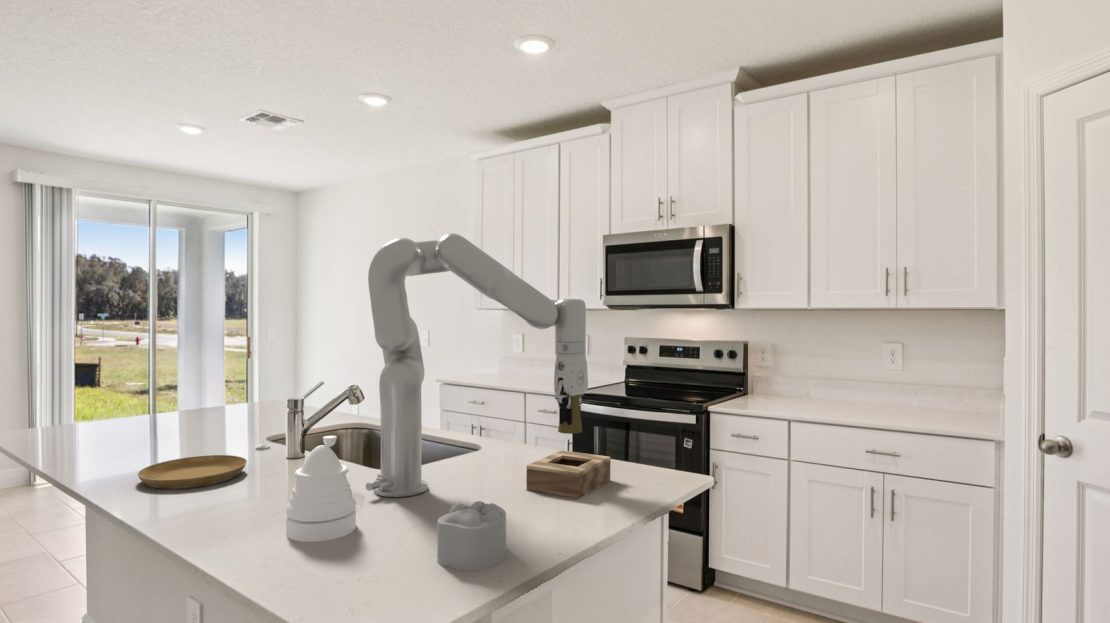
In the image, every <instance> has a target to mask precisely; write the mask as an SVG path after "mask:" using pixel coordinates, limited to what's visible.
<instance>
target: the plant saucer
mask: <svg viewBox="0 0 1110 623" xmlns="http://www.w3.org/2000/svg"><path fill="white" fill-rule="evenodd" d="M247 461H248V460H247V459H246V458H244V457H242V456H239V455H238V456H237V455H230V454H229V455H227V454H214V455H213V454H210V455H208V454H207V455H195V456H189V457H188V456H187V457H182V458H176V459H170V460H165V461H162V462H158V463H155V464H151V465H148V466H146V467H144V468H142V469H140V470H139V471H138V472H137V476H138V478H139V479H140V481H141V482H143V483H144V484H145V485H147V486H148V487H149V486H150V487H151V488H154V489H162V490H163V489H164V490H180V489H183V490H184V489H185V490H186V489H193V488H200V487H206V486H212V485H216V484H219V483H223V482H226V481H229V480H231V479H233V478H234V477H236V476H237V475H238V474H240V473H242V471H243V470H244V469H245V467H246V464H247Z"/></svg>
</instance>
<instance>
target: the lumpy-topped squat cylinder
mask: <svg viewBox="0 0 1110 623" xmlns="http://www.w3.org/2000/svg"><path fill="white" fill-rule="evenodd" d="M506 513H507V512H506V510H505V509H504V508H503V507H501V506H499V505H497V504H495V503H493V502H492V503H491V502H490V503H485V502H484V501H482V500H481V501H480V500H479V501H474V502H473V503H472V504H471V505H464V504H461V503H455V504H454V505H452V506H451V508H450V509H449V512H447V513H445V514H443V515H442V516H440V517H439V518H438V519H437V533H436V534H437V535H436V536H437V540H436V541H437V542H436V544H437V548H436V550H437V556H436V558H437V564H438V565H439V566H442V567H447V568H448V567H449V568H454V569H457V570H460V571H463V572H469V573H470V572H473V573H474V572H479V571H483V570H487V569H488V568H491V567H492V566H494V565H495V564H497V563H499V562H500V561H502V560H503V559H504V558H505V556H506V555H507V553H506V552H507V550H506V549H507V514H506Z"/></svg>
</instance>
